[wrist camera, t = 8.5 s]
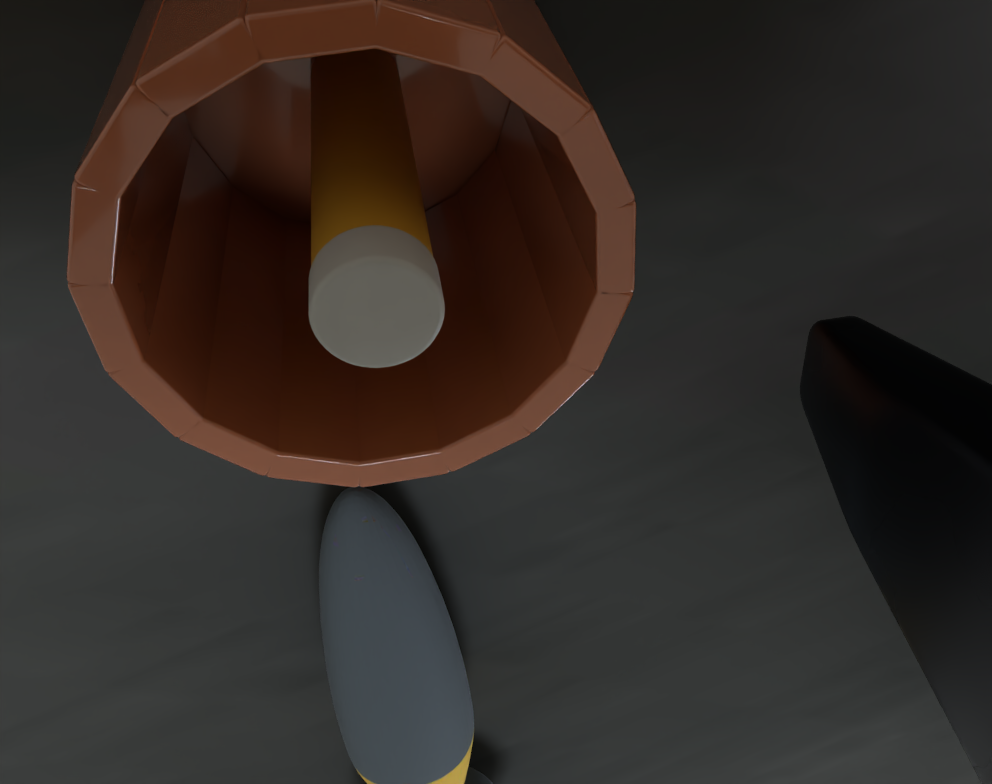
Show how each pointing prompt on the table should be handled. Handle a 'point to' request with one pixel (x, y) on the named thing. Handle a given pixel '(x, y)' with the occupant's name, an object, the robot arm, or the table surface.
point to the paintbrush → (391, 650)
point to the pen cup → (287, 234)
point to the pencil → (368, 217)
